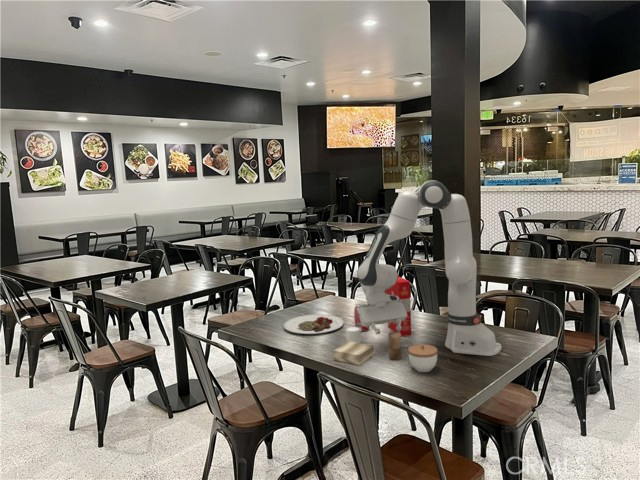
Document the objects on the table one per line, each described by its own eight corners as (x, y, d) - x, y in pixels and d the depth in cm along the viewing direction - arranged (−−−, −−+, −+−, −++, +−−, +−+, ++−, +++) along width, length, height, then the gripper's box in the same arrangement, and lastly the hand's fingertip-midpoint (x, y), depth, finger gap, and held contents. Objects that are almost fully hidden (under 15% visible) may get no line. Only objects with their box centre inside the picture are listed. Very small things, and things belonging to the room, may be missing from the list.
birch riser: (374, 354, 196) (374, 345, 195) (359, 365, 186) (359, 355, 185) (349, 350, 203) (349, 341, 202) (334, 359, 193) (333, 350, 192)
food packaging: (388, 326, 230) (386, 276, 227) (398, 325, 232) (396, 275, 228) (400, 336, 216) (398, 282, 213) (411, 334, 217) (409, 281, 214)
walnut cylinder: (403, 356, 192) (402, 333, 191) (398, 361, 188) (397, 336, 187) (392, 354, 195) (391, 331, 193) (386, 359, 191) (386, 335, 189)
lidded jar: (412, 375, 174) (411, 351, 173) (405, 364, 184) (405, 341, 183) (441, 373, 174) (441, 349, 173) (433, 362, 185) (432, 339, 184)
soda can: (369, 327, 232) (368, 303, 230) (369, 331, 225) (368, 307, 223) (355, 327, 232) (354, 303, 231) (354, 332, 225) (353, 307, 224)
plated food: (273, 334, 229) (273, 327, 229) (298, 316, 257) (298, 310, 256) (332, 339, 218) (331, 332, 218) (351, 319, 246) (351, 313, 246)
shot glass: (353, 340, 214) (352, 325, 213) (364, 343, 209) (364, 328, 208) (342, 344, 209) (342, 329, 209) (354, 348, 205) (353, 332, 204)
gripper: (357, 302, 197) (367, 331, 189) (401, 296, 203) (413, 324, 195) (353, 309, 202) (363, 339, 194) (397, 303, 208) (408, 331, 200)
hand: (389, 331), depth 195 cm, fingers open, 8 cm apart
